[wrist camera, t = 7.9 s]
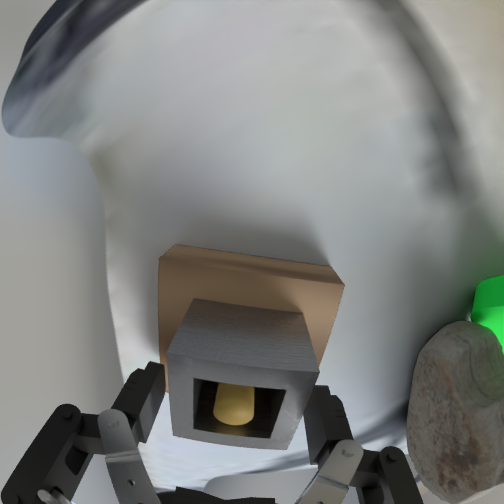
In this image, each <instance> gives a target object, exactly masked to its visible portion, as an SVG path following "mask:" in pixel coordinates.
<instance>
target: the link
mask: <svg viewBox="0 0 504 504" xmlns="http://www.w3.org/2000/svg"><path fill="white" fill-rule="evenodd" d="M167 373H168V388H169V401H170V412H171V422H172V431H173V436H177V437H182V438H187V439H192V440H197V441H202V442H208V443H214V444H221V445H229V446H237V447H247V448H258V449H275V450H287V448H288V446H289V444H290V442H291V440H292V438H293V436H294V433H295V431H296V429H297V427H298V424H299V422H300V420H301V418H302V415H303V413H304V411H305V408H306V406H307V403H308V401H309V399H310V396H311V394H312V391H313V388H314V386H315V383H316V381H317V378H318V375H319V373H320V371H319V367H318V363H317V360H316V356H315V353H314V349H313V345H312V342H311V338H310V335H309V331H308V328H307V324H306V321H305V317H304V314H303V313H300V312H291V311H282V310H274V309H266V308H258V307H251V306H244V305H237V304H230V303H223V302H216V301H210V300H204V299H198V298H193V300H192V302H191V304H190V306H189V308H188V310H187V312H186V314H185V316H184V318H183V320H182V322H181V324H180V326H179V328H178V330H177V332H176V334H175V336H174V338H173V340H172V342H171V344H170V346H169V348H168V350H167ZM219 382H222V383H228V384H236V385H243V386H252V387H255V391H254V416H253V418H252V420H251V421H249V422H248V423H245V424H242V425H230V424H226V423H223V422H221V421H219V420H218V419H217V418H216V417H215V416H214V413H213V410H214V405H215V400H216V394H217V389H218V384H219Z"/></svg>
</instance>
